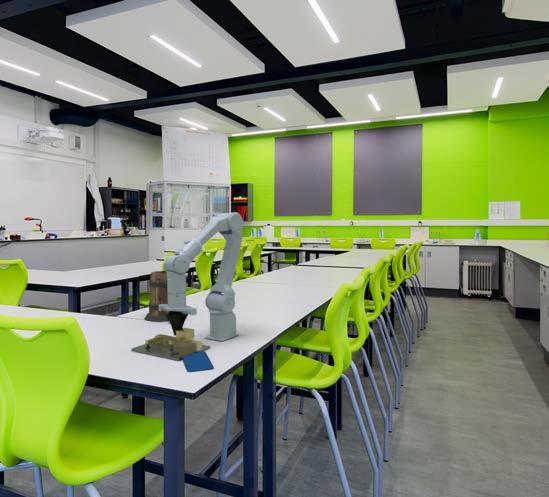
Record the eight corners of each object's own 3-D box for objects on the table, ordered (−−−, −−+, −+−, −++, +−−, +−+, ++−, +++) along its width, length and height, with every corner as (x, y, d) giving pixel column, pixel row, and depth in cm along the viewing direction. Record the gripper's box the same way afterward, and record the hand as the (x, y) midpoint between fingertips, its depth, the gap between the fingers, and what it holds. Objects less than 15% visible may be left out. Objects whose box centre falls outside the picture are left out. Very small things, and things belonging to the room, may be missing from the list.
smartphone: (187, 371, 107) (180, 353, 121) (187, 375, 107) (180, 356, 121) (214, 368, 109) (205, 350, 123) (214, 371, 109) (205, 353, 123)
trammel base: (164, 340, 138) (164, 330, 138) (209, 348, 128) (209, 338, 128) (131, 350, 126) (131, 340, 126) (178, 361, 116) (178, 350, 116)
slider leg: (185, 344, 129) (184, 327, 129) (194, 345, 127) (194, 329, 127) (165, 351, 122) (165, 333, 122) (175, 353, 120) (175, 335, 120)
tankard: (139, 316, 176) (138, 270, 175) (177, 311, 185) (176, 268, 184) (153, 327, 156) (152, 276, 155) (194, 322, 165) (194, 273, 163)
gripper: (151, 292, 127) (151, 334, 128) (185, 296, 120) (186, 341, 121) (167, 289, 134) (168, 330, 134) (200, 293, 126) (201, 335, 127)
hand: (177, 335), depth 128 cm, fingers closed
